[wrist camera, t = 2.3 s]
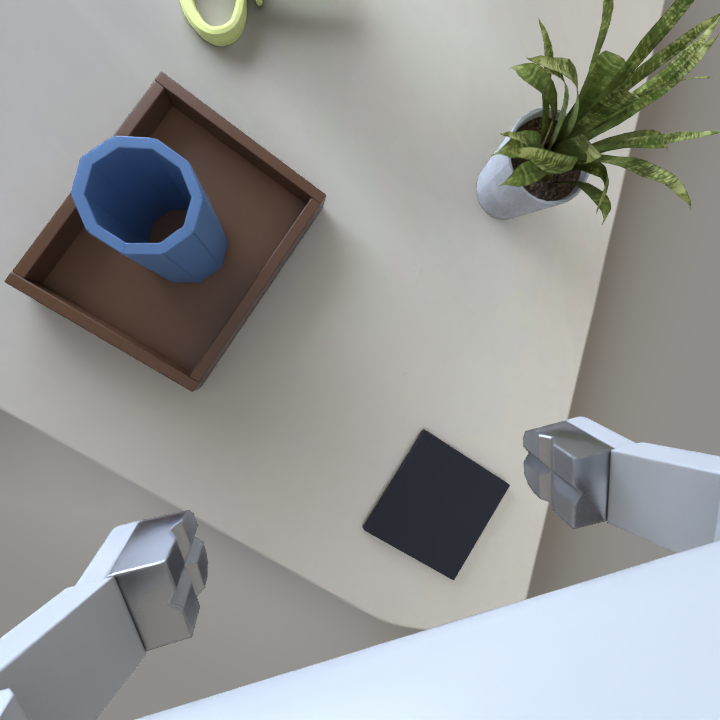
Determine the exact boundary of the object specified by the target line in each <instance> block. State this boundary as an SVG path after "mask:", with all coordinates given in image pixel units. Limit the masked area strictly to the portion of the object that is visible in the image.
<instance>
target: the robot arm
mask: <svg viewBox="0 0 720 720" xmlns="http://www.w3.org/2000/svg"><path fill="white" fill-rule="evenodd" d="M523 447H524V448H525V449H526V450H527V451H528V452H529V454H528V455H527V457H526V459H525V461H524V474H525V477H526V480H527V482H528V485H529V486H530V488H531V489H532V491H533V492H534V493H535V494H536V495H537V496H538V497H539V498H540V499H543V500H545V501H548V502H551V503H552V508H553V511H554V512H555V513H556V514H557V515H558V516H559V517H560V518H561V519H562V520H564V521H565V522H566V523H567V524H568V525H569V526H570V527H571V528H572V529H576V528H580V527H584V526H588V525H592V524H596V523H600V522H604V521H607V523H609V524H611V525H614V526H616V527H618V528H621V529H623V530H625V531H627V532H629V533H632V534H634V535H636V536H638V537H641V538H643V539H645V540H647V541H649V542H652V543H654V544H656V545H659V546H661V547H663V548H665V549H667V550H670V551H672V552H674V553H676V554H673V555H670V556H667V557H664V558H660V559H657V560H654V561H651V562H647V563H644V564H641V565H637V566H634V567H631V568H628V569H624V570H622V571H618V572H615V573H611V574H608V575H605V576H602V577H598V578H595V579H592V580H589V581H585V582H582V583H579V584H575V585H572V586H569V587H566V588H563V589H560V590H556V591H553V592H549V593H546V594H543V595H540V596H536V597H533V598H530V599H526V600H523V601H520V602H517V603H513V604H510V605H507V606H504V607H500V608H497V609H494V610H490V611H487V612H484V613H481V614H477V615H474V616H471V617H467V618H464V619H461V620H458V621H454V622H451V623H448V624H445V625H441V626H438V627H435V628H431V629H428V630H425V631H422V632H418V633H415V634H412V635H409V636H405V637H402V638H399V639H395V640H392V641H389V642H386V643H382V644H379V645H376V646H373V647H369V648H366V649H363V650H360V651H357V652H353V653H350V654H347V655H343V656H340V657H337V658H334V659H331V660H327V661H324V662H321V663H318V664H315V665H311V666H308V667H305V668H301V669H298V670H295V671H292V672H288V673H285V674H282V675H279V676H276V677H272V678H269V679H266V680H263V681H259V682H256V683H253V684H250V685H246V686H243V687H240V688H237V689H233V690H230V691H227V692H224V693H221V694H217V695H214V696H211V697H208V698H205V699H201V700H198V701H195V702H191V703H188V704H185V705H181V706H178V707H175V708H171V709H169V710H165V711H162V712H158V713H155V714H152V715H149V716H145V717H142V718H138V719H135V720H720V456H714V455H709V454H703V453H698V452H692V451H687V450H682V449H676V448H671V447H665V446H660V445H654V444H649V443H644V442H642V443H637V444H636V443H634V442H633V441H630V440H629V439H627V438H625V437H623V436H621V435H619V434H617V433H615V432H613V431H611V430H609V429H607V428H605V427H603V426H601V425H599V424H598V423H596V422H594V421H592V420H590V419H588V418H586V417H576V418H572V419H569V420H565V421H561V422H558V423H555V424H551V425H547V426H543V427H539V428H536V429H532V430H528V431H525V434H524V437H523ZM197 527H198V524H197V521H196V518H195V516H194V513H193V512H191V511H190V510H186V511H182V512H177V513H172V514H168V515H163V516H159V517H154V518H150V519H145V520H142V521H141V520H140V521H135V522H131V523H127V524H124V525H119V526H117V527H115V528H113V530H112V531H111V533H110V534H109V536H108V537H107V539H106V540H105V542H104V543H103V545H102V546H101V548H100V549H99V551H98V552H97V554H96V555H95V557H94V558H93V560H92V561H91V563H90V564H89V566H88V568H87V569H86V570H85V572H84V574H83V575H82V577H81V578H80V580H79V581H78V583H77V584H76V586H73V587H69V588H66V589H65V590H63V591H62V592H61V593H60V594H58V595H57V596H56V597H54V598H53V599H52V600H50V601H49V602H48V603H46V604H45V605H44V606H42V607H41V608H40V609H39V610H37V611H36V612H34V613H33V614H32V615H31V616H29V617H28V618H27V619H25V620H24V621H23V622H21V623H20V624H19V625H17V626H16V627H15V628H13V629H12V630H11V631H9V632H8V633H7V634H5V635H4V636H3V637H2V638H0V720H96V719H97V718H98V717H99V715H100V714H101V713H102V711H103V710H104V708H105V707H106V706H107V705H108V704H109V702H110V701H111V700H112V698H113V697H114V696H115V694H116V693H117V692H118V690H119V689H120V688H121V687H122V685H123V684H124V683H125V681H126V680H127V679H128V677H129V676H130V675H131V673H132V672H133V671H134V670H135V668H136V667H137V666H138V664H139V663H140V662H141V660H142V659H143V657H144V656H145V655H146V651H149V650H152V649H155V648H159V647H162V646H165V645H168V644H171V643H175V642H178V641H181V640H184V639H187V638H191V637H192V635H193V632H194V628H195V624H196V620H197V616H198V613H199V609H200V605H199V602H198V599H197V596H198V595H199V594H200V593H201V592H202V590H203V589H204V588H205V585H206V580H207V574H208V560H207V553H206V549H205V546H204V542H203V541H201V540H200V539H198V538H197V537H195V533H196V530H197Z"/></svg>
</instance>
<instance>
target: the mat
mask: <svg viewBox="0 0 720 720" xmlns="http://www.w3.org/2000/svg"><path fill="white" fill-rule="evenodd" d="M509 486H510V485H509V484H508V483H506V482H504V481H503V480H501V479H500V478H498V477H497V476H495V475H494V474H492V473H491V472H489V471H487V470H486V469H484V468H483V467H481V466H480V465H478V464H477V463H475V462H474V461H472V460H470V459H469V458H467V457H466V456H464V455H463V454H461V453H460V452H458V451H457V450H455V449H453V448H452V447H450V446H449V445H447V444H446V443H444V442H443V441H441V440H440V439H438V438H436V437H435V436H433V435H432V434H430V433H429V432H427V431H426V430H423V431H422V433H421V434H420V436H419V437H418V439H417V441H416V442H415V444H414V445H413V447H412V449H411V450H410V452H409V454H408V455H407V457H406V458H405V460H404V462H403V463H402V465H401V467H400V468H399V470H398V471H397V473H396V475H395V476H394V478H393V479H392V481H391V483H390V484H389V486H388V488H387V489H386V491H385V492H384V494H383V496H382V497H381V499H380V501H379V502H378V504H377V505H376V507H375V509H374V510H373V512H372V513H371V515H370V517H369V518H368V520H367V522H366V523H365V525H364V526H363V529H364V530H365V531H367V532H368V533H370V534H372V535H374V536H376V537H377V538H379V539H381V540H383V541H384V542H386V543H388V544H390V545H392V546H393V547H395V548H397V549H399V550H401V551H402V552H404V553H406V554H408V555H409V556H411V557H413V558H415V559H417V560H418V561H420V562H422V563H424V564H426V565H427V566H429V567H431V568H433V569H434V570H436V571H438V572H440V573H442V574H443V575H445V576H447V577H449V578H450V579H452V580H454V579H455V577H456V576H457V574H458V572H459V571H460V569H461V567H462V566H463V564H464V562H465V560H466V559H467V557H468V555H469V554H470V552H471V550H472V549H473V547H474V545H475V544H476V542H477V540H478V538H479V537H480V535H481V533H482V532H483V530H484V528H485V527H486V525H487V523H488V521H489V520H490V518H491V516H492V515H493V513H494V511H495V510H496V508H497V506H498V504H499V503H500V501H501V499H502V498H503V496H504V494H505V493H506V491H507V489H508V487H509Z"/></svg>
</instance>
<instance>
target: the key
mask: <svg viewBox="0 0 720 720" xmlns="http://www.w3.org/2000/svg"><path fill="white" fill-rule="evenodd" d="M255 2H256V4H257V5H258V6H261V5H262V3H263V0H255ZM180 4H181V7H182V10H183V12H184V14H185V16H186V18H187V20H188V21H189V23H190V24H191V26H192V27H193V28H194V29H195V31H196V32H197V33H198V34H199V35H200V36H201V37H202V38H203V39H204V40H205V41H207V42H208V43H210V44H213V45H215V46H227V45H230V44H232V43H234V42H235V41H237V40H238V39H239V37H240V36H241V35H242V32H243V30H244V27H245V24H246V17H247V0H236V3H235V9H234V12H233V15H232V18H231V19H230V20H229V22H227V23H226V24H225V25H222V26H218V27H213V26H210V25H208V24H207V23H205V22H204V21H203V19H202V18H201V16H200V14H199V12H198V10H197V8H196V5H195V2H194V0H180Z"/></svg>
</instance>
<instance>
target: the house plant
mask: <svg viewBox="0 0 720 720" xmlns="http://www.w3.org/2000/svg"><path fill="white" fill-rule="evenodd" d="M693 1H694V0H676V1H675V2H674V3H673V4H672V6H671V7H670V8H669V9H668V10H667V12H666V13H665V14H664V15H663V16H662V17H661V18H660V19H659V21H658V22H657V23H656V24H655V25H654V26H653V27H652V28H651V30H650V31H649V32H648V33H647V34H646V35H645V36H644V38H643V39H642V40H641V41H640V43H639V44H638V46H637V47H636V48H635V50H634V51H633V53H632V54H631V56H630V57H629V59H628V60H627V62H625V60H624V59H623V58H622V57H620V56H618V55H616V54H614V53H611V52H608V51H604V52H602V53H601V54H600V55H599V53H600V50H601V47H602V45H603V42H604V40H605V37H606V34H607V31H608V28H609V25H610V21H611V16H612V11H613V0H604V4H603V14H602V23H601V27H600V31H599V36H598V40H597V43H596V46H595V50H594V53H593V57H592V60H591V64H590V68H589V72H588V75H587V77H586V80H585V82H584V85H583V87H582V89H581V92H580V94H579V96H578V80H577V73H576V68H575V66H574V65H573V63H572V62H571V61H570V59H566V58H554V57H553V50H552V45H551V42H550V39H549V36H548V33H547V31H546V29H545V27H544V26H543V24H542V23H541V22H540V20H539V24H540V28H541V32H542V36H543V41H544V49H545V56H537V57H533V58H527V57H526V58H527V59H529V60H530V61H532V62H534V63H537V64H534V63H525V64H521V65H517V66H514V67H512V68H509V69H514V70H515V71H516V72H517V74H518V75H519V76H520V77H521V78H522V79H523V80H524V81H526V82H527V83H528V84H530V85H531V86H533V87H534V88H536V89H537V90H538V91H540V92H541V93H542V99H543V108H539V109H536V110H532V111H530V112H528V113H527V114H525V115H524V116H522V117H521V118H520V120H519V121H518V122H517V123H516V124H515V126H514V127H513V128H512V130H511V131H510V132H506V133H503V134H501V135H504V136H507V137H506V138H505V140H504V141H503V142H502V144H501V145H500V147H499V148H498V149H497V151H496V152H495V154H493V155H492V158H491V159H490V160H489V162H488V163H487V165H486V166H485V167H484V169H483V170H482V172H481V173H480V175H479V178H478V181H477V187H476V188H477V196H478V200H479V202H480V204H481V206H482V207H483V209H484V210H485V211H486V212H487V213H488V214H489V215H491V216H493V217H494V218H498V219H510V218H514V217H517V216H521V215H524V214H528V213H531V212H535V211H538V210H542V209H545V208H549V207H552V206H556V205H559V204H562V203H565V202H568V201H570V200H571V199H572V198H574V197H575V196H576V195H578V193H579V192H580V191H581V189H582V190H583V191H584V192H585V193H586V194H587V195H589V197H590V198H591V199H592V200H593V201H594V202H595V203H596V205H597V206H598V208H597V211H598V209H599V208H600V210H601V211H602V214H603V218H604V220H603V222H604V221H605V219H606V217H607V215H608V214H609V212H610V210H611V203H610V200H609V198H608V196H607V195H606V193H607V189H608V183H609V179H608V175H607V170H606V167H605V166H604V165H603V164H602V163H600V162H603V163H609V164H613V165H617V166H621V167H623V168H625V169H628V170H630V171H632V172H634V173H636V174H638V175H640V176H642V177H645V178H649V179H652V180H655V181H658V182H661V183H663V184H665V185H666V186H668V187H669V188H670V189H671V190H673V191H674V193H676V194H677V195H678V196H679V197H680V198H681V199H683V200H684V201H685V202H687V203H688V205H689V206H691V203H690V198H689V195H688V192H687V190H686V188H685V186H684V184H683V183H682V182H681V181H680V180H679V179H678V178H677V177H675V176H674V175H673V174H672V173H670V172H668V171H666V170H664V169H663V168H661V167H658V166H656V165H654V164H652V163H650V162H648V161H645V160H642V159H638V158H634V157H617V156H609V155H602V154H601V153H603V152H606V151H610V150H616V149H621V148H666V149H668V147H667V143H673V142H679V141H684V140H689V139H694V138H700V137H705V136H709V135H713V134H717V133H720V131H701V132H692V131H687V132H676V133H670V134H661V133H660V132H658V131H655V130H640V131H634V132H629V133H624V134H620V135H616V136H613V137H609V138H606V139H603V140H601V141H598V142H595V143H593V144H591V143H590V142H589V140H590V139H592V138H594V137H596V136H597V135H599V134H601V133H603V132H605V131H607V130H609V129H611V128H613V127H615V126H617V125H619V124H620V123H622V122H623V121H625V120H627V119H628V118H630V117H631V116H633V115H634V114H635V113H637V112H638V111H640V110H641V109H643V108H644V107H646V106H647V105H649V104H650V103H652V102H653V101H655V100H656V99H658V98H659V97H661V96H662V95H664V94H665V93H666V92H667V91H669V90H670V89H671V88H672V87H674V86H675V85H676V84H677V83H678V82H680V81H683V80H687V79H683V78H684V77H685V76H686V74H688V73H689V72H690V71H691V70H692V69H693V68H694V67H695V65H696V64H697V63H698V62H699V61H700V60H701V59H702V57H703V56H704V55H705V54H706V52H707V51H708V49H709V48H710V47H711V45H712V44H713V42H714V41H715V40H716V38H717V36H718V35H717V36H716V37H715V38H713V39H712V40H710V41H708V42H707V43H705V42H706V40H707V39H708V38H709V36H710V35H711V33H712V31H713V29H714V28H715V26H716V25H717V23H718V21H719V19H718V20H717V21H716V19H717V18H718V17H719V16H720V14H718V15H716V16H714V17H712V18H709V19H707V20H706V21H704V22H702V23H701V24H699V25H697V26H696V27H694V28H692V29H691V30H689V31H688V32H687V33H685V34H684V35H682V36H681V37H680V38H678V39H677V40H675V41H674V42H672V43H671V44H670V45H668V46H667V47H665V48H664V49H663V50H661V51H660V52H658V53H657V54H655V55H654V56H653V57H651V58H650V59H649V60H647V61H646V62H645V63H643V64H642V65H641V66H639V65H640V64H641V62H642V61H643V60H644V59H645V58H646V57H647V56H648V55H649V53H650V52H651V51H652V50H653V49H654V48H655V47H656V45H657V44H658V43H659V42H660V41H661V40H662V39H663V38H664V36H665V35H666V34H667V33H668V32H669V31H670V30H671V29H672V27H673V26H674V25H675V24H676V23H677V22H678V20H679V19H680V18H681V17H682V15H683V14H684V13H685V11H686V10H687V9H688V8H689V6H690V5H691V4H692V3H693ZM715 21H716V22H715ZM714 22H715V23H714ZM713 23H714V24H713ZM712 24H713V25H712ZM710 25H711V26H710ZM709 26H710V27H709ZM708 27H709V28H708ZM706 28H708V29H707V30H706V31H705V33H704V34H703V35H702V36H701V37H700V38H699V39H698V40H697V41H696V42H694V43H693V44H691V45H690V46H689V47H688V48H686V47H687V46H688V45H689V44H690V43H691V42H692V41H693V40H694V39H695V38H697V37H698V35H699V34H700V33H702V32H703V31H704V30H705V29H706ZM704 43H705V44H704ZM703 44H704V45H703ZM685 48H686V49H685ZM684 49H685V50H684ZM682 50H683V51H682ZM681 51H682V52H681ZM679 52H681V53H680V54H679V55H678V56H677V57H676V58H675V59H674V60H673V61H672V62H670V63H669V64H668V65H667V66H666V67H665V68H664V69H663V70H662V71H660V72H659V73H658V74H657V75H656V76H654V77H653V78H652V79H650V80H649V81H647V82H646V83H644V84H643V85H642V86H640V87H639V88H637V89H636V90H634V91H633V92H632V93H630V92H628V90H629V89H631V88H632V87H633V86H635V85H636V84H637V83H638V82H640V81H641V80H642V79H644V78H645V77H646V76H648V75H649V74H650V73H652V72H653V71H655V70H656V69H657V68H659V67H660V66H661V65H663V64H664V63H665V62H667V61H668V60H670V59H671V58H672V57H674V56H675V55H676V54H678V53H679ZM539 64H540V65H542V66H544V68H542V67H541V66H540V65H539ZM638 66H639V67H638ZM637 67H638V68H637ZM636 68H637V69H636ZM635 69H636V70H635ZM551 74H553V75H555V76H558V77H559V78H561V79H562V80H563V81H564V78H563V75H565V76H566V77H568V78H569V79H571V80H572V82H573V83H574V84H575V85H576V87H577V99H576V103H575V104H574V106H573V107H572V108H571V110H570V111H569V113H568V114H567V113H566V109H567V106H568V99H569V93H568V88H567V86H566V83H565V81H564V83H565V93H564V100H563V106H562V109H561V111H560V110H558V109H557V92H556V89H555V86H554V82H553V81H552V79H551ZM562 74H563V75H562ZM693 78H709V77H693ZM693 78H689V79H693ZM682 79H683V80H682ZM549 104H550V106H551V108H549ZM589 173H590V174H592V175H595V176H598V177H600V178H601V179H602V180H603V182H604V185H605V188H604V191H601V190H600V189H598V188H596V187H594V186H593V185H591V184H589V183H586V181H587V178H588V176H589ZM690 208H691V207H690ZM596 213H597V212H596ZM602 224H603V223H602Z"/></svg>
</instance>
